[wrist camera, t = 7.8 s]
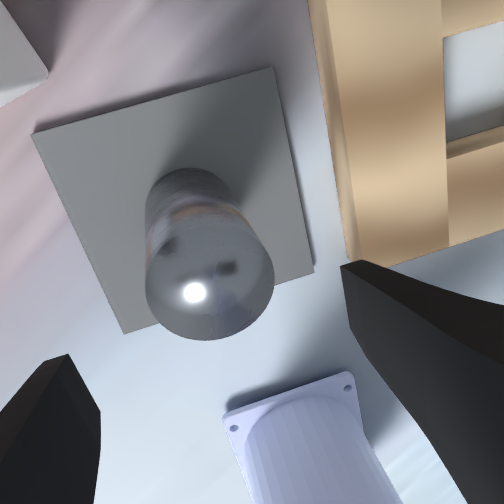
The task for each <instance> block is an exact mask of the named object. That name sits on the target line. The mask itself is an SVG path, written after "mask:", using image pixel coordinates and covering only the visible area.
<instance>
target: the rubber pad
mask: <svg viewBox="0 0 504 504" xmlns="http://www.w3.org/2000/svg"><path fill="white" fill-rule="evenodd" d="M31 138H32V140H33V142H34V144H35V146H36V148H37V150H38V152H39V155H40V157H41V159H42V161H43V163H44V165H45V167H46V170H47V172H48V174H49V176H50V178H51V180H52V182H53V184H54V187H55V189H56V191H57V193H58V195H59V197H60V199H61V201H62V204H63V206H64V208H65V210H66V212H67V214H68V216H69V219H70V221H71V223H72V225H73V227H74V229H75V231H76V233H77V236H78V238H79V240H80V242H81V244H82V246H83V248H84V250H85V253H86V255H87V257H88V259H89V261H90V263H91V265H92V268H93V270H94V272H95V274H96V276H97V278H98V280H99V282H100V285H101V287H102V289H103V291H104V293H105V295H106V297H107V299H108V302H109V304H110V306H111V308H112V310H113V312H114V314H115V317H116V319H117V321H118V323H119V325H120V327H121V329H122V331H123V334H127V333H130V332H133V331H137V330H140V329H143V328H146V327H149V326H152V325H155V324H158V323H159V322H158V321H157V319H156V318H155V317H154V315H153V314H152V312H151V310H150V308H149V306H148V303H147V300H146V294H145V205H146V200H147V197H148V194H149V192H150V190H151V189H152V187H153V186H154V185H155V183H156V182H157V181H158V180H159V179H160V178H162V177H163V176H165V175H166V174H168V173H170V172H172V171H175V170H178V169H182V168H199V169H203V170H206V171H209V172H211V173H213V174H215V175H216V176H218V177H219V178H220V179H221V180H222V181H223V182H224V183H225V184H226V185H227V187H228V188H229V190H230V191H231V193H232V195H233V196H234V198H235V200H236V201H237V203H238V205H239V206H240V208H241V210H242V211H243V213H244V214H245V216H246V218H247V219H248V221H249V223H250V224H251V226H252V228H253V229H254V231H255V233H256V234H257V236H258V238H259V239H260V241H261V242H262V244H263V246H264V247H265V249H266V251H267V252H268V254H269V256H270V258H271V261H272V264H273V267H274V273H275V283H274V286H275V285H278V284H281V283H284V282H287V281H290V280H293V279H297V278H300V277H303V276H306V275H309V274H312V273H314V268H313V263H312V258H311V253H310V248H309V243H308V238H307V233H306V228H305V223H304V218H303V213H302V208H301V203H300V198H299V193H298V188H297V183H296V178H295V173H294V168H293V163H292V158H291V153H290V148H289V143H288V138H287V133H286V128H285V123H284V118H283V113H282V108H281V103H280V98H279V93H278V88H277V83H276V78H275V73H274V68H273V67H268V68H264V69H261V70H257V71H254V72H250V73H246V74H243V75H239V76H236V77H232V78H229V79H225V80H221V81H218V82H214V83H211V84H207V85H204V86H200V87H196V88H193V89H189V90H186V91H182V92H179V93H175V94H171V95H168V96H164V97H161V98H157V99H153V100H150V101H146V102H143V103H139V104H136V105H132V106H128V107H125V108H121V109H118V110H114V111H111V112H107V113H103V114H100V115H96V116H93V117H89V118H86V119H82V120H78V121H75V122H71V123H68V124H64V125H61V126H57V127H53V128H50V129H46V130H43V131H39V132H36V133H32V134H31Z"/></svg>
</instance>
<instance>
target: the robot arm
mask: <svg viewBox="0 0 504 504" xmlns="http://www.w3.org/2000/svg"><path fill="white" fill-rule="evenodd" d="M340 269H341V276H342V282H343V288H344V294H345V300H346V306H347V312H348V318H349V324H350V329H351V330H352V332H353V334H354V336H355V338H356V339H357V341H358V343H359V345H360V346H361V348H362V350H363V352H364V353H365V355H366V357H367V358H368V360H369V361H370V362H371V364H372V365H373V366H374V368H375V369H376V370H377V372H378V373H379V374H380V376H381V377H382V378H383V380H384V381H385V382H386V383H387V385H388V386H389V387H390V389H391V390H392V391H393V393H394V394H395V395H396V396H397V398H398V399H399V400H400V402H401V403H402V404H403V406H404V407H405V408H406V409H407V411H408V412H409V413H410V415H411V416H412V417H413V419H414V420H415V421H416V422H417V424H418V425H419V427H420V428H421V429H422V431H423V432H424V434H425V435H426V437H427V438H428V439H429V441H430V443H431V444H432V446H433V447H434V449H435V451H436V452H437V454H438V455H439V457H440V459H441V460H442V462H443V464H444V465H445V467H446V468H447V470H448V472H449V473H450V475H451V476H452V478H453V480H454V481H455V483H456V485H457V487H458V488H459V490H460V492H461V493H462V495H463V497H464V498H465V500H466V502H467V503H468V504H504V305H500V304H496V303H491V302H487V301H483V300H479V299H475V298H471V297H468V296H464V295H461V294H458V293H455V292H451V291H448V290H445V289H442V288H439V287H436V286H433V285H430V284H427V283H424V282H421V281H419V280H416V279H413V278H411V277H408V276H405V275H403V274H400V273H398V272H395V271H392V270H390V269H387V268H385V267H382V266H380V265H377V264H374V263H372V262H369V261H366V260H363V259H361V260H357V261H354V262H351V263H348V264H345V265H342V266H340ZM346 385H348V386H347V387H345V386H346ZM222 420H223V425H224V428H225V430H226V433H227V435H228V438H229V441H230V443H231V446H232V448H233V451H234V454H235V456H236V459H237V461H238V464H239V467H240V469H241V472H242V475H243V477H244V480H245V482H246V485H247V488H248V490H249V493H250V495H251V498H252V501H253V503H254V504H403V503H402V501H401V499H400V497H399V495H398V494H397V492H396V490H395V488H394V487H393V485H392V483H391V481H390V479H389V478H388V476H387V474H386V472H385V471H384V469H383V467H382V465H381V463H380V462H379V460H378V458H377V456H376V454H375V453H374V451H373V449H372V447H371V446H370V444H369V442H368V440H367V438H366V437H365V435H364V431H363V425H362V419H361V413H360V408H359V402H358V396H357V390H356V385H355V379H354V377H353V375H352V373H350V372H348V371H345V372H341V373H338V374H335V375H333V376H330V377H327V378H324V379H321V380H318V381H315V382H312V383H309V384H307V385H304V386H301V387H298V388H295V389H292V390H289V391H286V392H284V393H281V394H278V395H275V396H272V397H269V398H266V399H263V400H261V401H258V402H255V403H252V404H249V405H246V406H243V407H240V408H238V409H235V410H232V411H229V412H227V413H225V414H224V415H223V418H222ZM232 425H235V426H232ZM100 450H101V416H100V410H99V408H98V406H97V405H96V403H95V401H94V399H93V397H92V396H91V394H90V392H89V390H88V388H87V386H86V385H85V383H84V381H83V379H82V377H81V376H80V374H79V372H78V370H77V368H76V367H75V365H74V363H73V361H72V359H71V357H70V356H69V354H65V355H62V356H59V357H56V358H53V359H50V360H47V361H44V362H43V363H42V364H41V365H40V366H39V367H38V368H37V369H36V370H35V371H34V373H33V374H32V375H31V376H30V377H29V378H28V379H27V381H26V382H25V383H24V384H23V385H22V387H21V388H20V389H19V390H18V391H17V393H16V394H15V395H14V396H13V397H12V399H11V400H10V401H9V402H8V403H7V405H6V406H5V407H4V408H3V409H2V410H1V412H0V504H93V503H94V496H95V489H96V482H97V474H98V467H99V459H100Z"/></svg>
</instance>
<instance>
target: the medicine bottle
mask: <svg viewBox="0 0 504 504" xmlns="http://www.w3.org/2000/svg"><path fill="white" fill-rule="evenodd" d="M47 79H48V70H47V68H46V66H45V65H44V63H43V62H42V60H41V59H40V57H39V56H38V55H37V53H36V52H35V50H34V49H33V47H32V46H31V44H30V43H29V41H28V40H27V38H26V37H25V36H24V34H23V33H22V31H21V30H20V28H19V27H18V25H17V24H16V22H15V21H14V20H13V18H12V17H11V15H10V14H9V12H8V11H7V9H6V8H5V6H4V5H3V3H2V2H1V1H0V107H2V106H4V105H6V104H7V103H9V102H11V101H13V100H14V99H16V98H18V97H19V96H21V95H23V94H25V93H26V92H28V91H30V90H32V89H33V88H35V87H37V86H38V85H40V84H42V83H44V82H45V81H46V80H47Z"/></svg>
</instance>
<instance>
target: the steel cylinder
mask: <svg viewBox="0 0 504 504" xmlns="http://www.w3.org/2000/svg"><path fill="white" fill-rule="evenodd" d="M274 283H275V273H274V267H273V264H272V261H271V258H270V256H269V254H268V252H267V251H266V249H265V247H264V246H263V244H262V242H261V241H260V239H259V238H258V236H257V234H256V233H255V231H254V229H253V228H252V226H251V224H250V223H249V221H248V219H247V218H246V216H245V214H244V213H243V211H242V210H241V208H240V206H239V205H238V203H237V201H236V200H235V198H234V196H233V195H232V193H231V191H230V190H229V188H228V187H227V185H226V184H225V183H224V182H223V181H222V180H221V179H220V178H219V177H218V176H216V175H215V174H213V173H211V172H209V171H206V170H203V169H199V168H182V169H178V170H175V171H172V172H170V173H168V174H166V175H165V176H163V177H162V178H160V179H159V180H158V181H157V182H156V183H155V185H154V186H153V187H152V189H151V190H150V192H149V194H148V197H147V200H146V205H145V294H146V300H147V303H148V306H149V308H150V310H151V312H152V314H153V315H154V317H155V318H156V319H157V321H158V322H159V323H160V324H161V325H162V326H164V327H165V328H166V329H168V330H169V331H171V332H173V333H174V334H177V335H179V336H181V337H184V338H188V339H193V340H203V341H206V340H217V339H222V338H225V337H229V336H231V335H234V334H236V333H238V332H240V331H242V330H244V329H245V328H247V327H248V326H250V325H251V324H252V323H253V322H254V321H256V320H257V318H258V317H259V316H260V315H261V314H262V313H263V311H264V310H265V309H266V307H267V305H268V303H269V301H270V299H271V296H272V293H273V290H274Z"/></svg>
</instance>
